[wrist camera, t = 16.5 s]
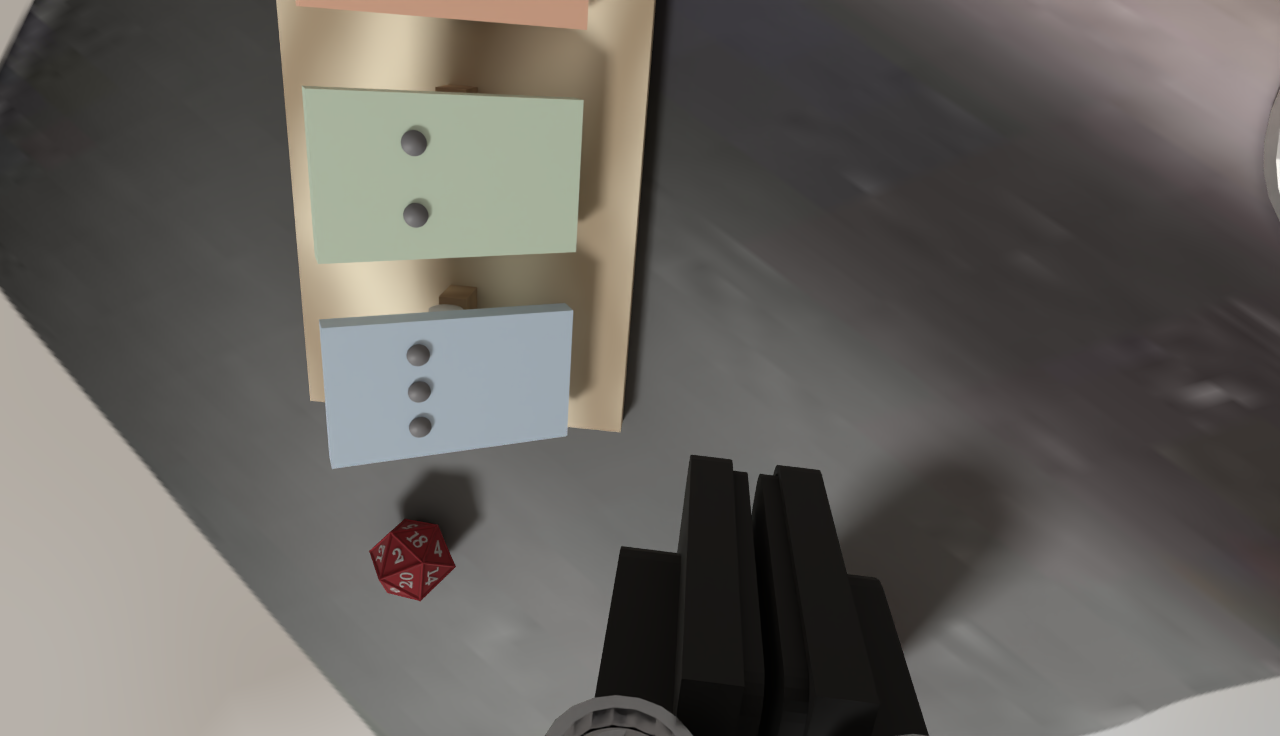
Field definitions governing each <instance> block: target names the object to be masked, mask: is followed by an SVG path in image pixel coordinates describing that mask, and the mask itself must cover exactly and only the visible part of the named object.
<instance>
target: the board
mask: <svg viewBox="0 0 1280 736" xmlns="http://www.w3.org/2000/svg"><path fill="white" fill-rule="evenodd" d="M276 1H277V13H278V25H279V36H280V48H281V60H282V72H283V83H284V95H285V107H286V119H287V131H288V142H289V154H290V166H291V178H292V190H293V201H294V213H295V225H296V237H297V248H298V260H299V272H300V284H301V296H302V307H303V319H304V331H305V343H306V355H307V366H308V378H309V390H310V401H320V402H325V392H324V379H323V366H322V353H321V340H320V327H319V319H332V318H347V317H362V316H377V315H392V314H407V313H422V312H429V308H430V307H432V306H435V305H442V304H449V305H456V306H459V307H461V308H463V310H467V309H482V308H497V307H512V306H527V305H542V304H557V303H566V304H567V305H568V306H569V307H570V308H571V309H572V310H573V326H572V346H571V366H570V386H569V405H568V425H567V427H575V428H584V429H594V430H604V431H614V432H621V427H622V422H623V410H624V397H625V385H626V372H627V359H628V347H629V334H630V322H631V309H632V297H633V284H634V271H635V259H636V246H637V234H638V221H639V208H640V196H641V183H642V171H643V158H644V145H645V133H646V120H647V108H648V95H649V83H650V70H651V57H652V45H653V32H654V20H655V7H656V0H589V2H588V22H587V30H580V29H568V28H556V27H544V26H532V25H520V24H508V23H496V22H484V21H471V20H459V19H447V18H435V17H423V16H411V15H399V14H387V13H375V12H363V11H350V10H338V9H326V8H314V7H302V6H296V0H276ZM302 86H321V87H344V88H367V89H390V90H413V91H437V92H460V93H483V94H506V95H530V96H553V97H574V98H578V99H581V100H584V103H583V123H582V143H581V163H580V183H579V203H578V223H577V243H576V252H566V253H545V254H524V255H502V256H481V257H459V258H438V259H417V260H395V261H374V262H353V263H331V264H318V263H317V260H316V258H315V252H314V239H313V226H312V213H311V200H310V187H309V174H308V161H307V148H306V135H305V122H304V109H303V96H302Z"/></svg>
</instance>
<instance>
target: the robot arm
mask: <svg viewBox="0 0 1280 736" xmlns="http://www.w3.org/2000/svg"><path fill="white" fill-rule="evenodd" d="M1263 171H1264V176H1265V181H1266V186H1267V191H1268V196H1269V199H1270V201H1271V204H1272V206H1273V208H1274V210H1275V212H1276V214H1277V216H1278V218H1279V221H1280V90H1279V92H1278V95H1277V97H1276V99H1275V102H1274V104H1273V107H1272V109H1271V112H1270V117H1269V122H1268V126H1267V131H1266V135H1265V140H1264V170H1263ZM545 736H929V734H928V731H927V728H926V725H925V722H924V718H923V715H922V712H921V709H920V706H919V702H918V699H917V696H916V693H915V690H914V686H913V683H912V680H911V677H910V674H909V670H908V667H907V664H906V661H905V658H904V654H903V651H902V648H901V645H900V641H899V638H898V635H897V632H896V629H895V625H894V622H893V619H892V616H891V613H890V609H889V606H888V603H887V600H886V597H885V593H884V590H883V588H882V585H881V583H880V581H879V580H878V579H876V578H873V577H865V576H857V575H849V574H847V572H846V568H845V565H844V561H843V557H842V553H841V549H840V545H839V541H838V537H837V533H836V529H835V525H834V521H833V517H832V513H831V509H830V505H829V501H828V498H827V494H826V490H825V486H824V482H823V478H822V474H821V472H820V470H815V469H806V468H798V467H790V466H781V465H777V466H776V468H775V471H774V474H773V475H764V474H760V475H759V477H758V481H757V486H756V492H755V497H754V503H753V509H752V515H751V506H750V495H749V483H748V474H747V472H739V471H733V463H732V460H731V459H723V458H714V457H706V456H698V455H691V456H690V461H689V468H688V475H687V482H686V490H685V498H684V505H683V513H682V520H681V528H680V536H679V543H678V551H677V553H672V552H664V551H656V550H648V549H640V548H632V547H624V546H621V549H620V554H619V560H618V566H617V572H616V577H615V583H614V589H613V595H612V601H611V606H610V612H609V618H608V624H607V630H606V635H605V641H604V647H603V653H602V659H601V664H600V670H599V676H598V682H597V688H596V693H595V698H592V699H589V700H587V701H584V702H582V703H579V704H577V705H574V706H572V707H571V708H569V709H568V710H567V711H566V712H564V713H563V714H562V715H560V716H559V717H558V718H557V719H555V721H554V722H553V724H552V725H551V727H550V728H549V730H548V731H547V733H546V734H545Z"/></svg>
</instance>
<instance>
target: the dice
mask: <svg viewBox="0 0 1280 736" xmlns="http://www.w3.org/2000/svg"><path fill="white" fill-rule="evenodd" d="M369 552H370V555H371V558H372V561H373V564H374V567H375V570H376V573H377V576H378V579H379V581H380V582H381V584H382V585H383V587H384V588H385V590H386V591H387V593H390V594H394V595H398V596H402V597H406V598H410V599H414V600H418V601H421V600H422V599H423V598H424V597H425V596H426V595H427V594H428V593H429V592H430V591H431V590H432V589H433V588H434V587H435V586H437V585H438V584H439V583H440V582H441V581H442V580H443V579H444V578H445V577H446V576H447V575H448V574H449V573H450V572H451V571H452V570H453V569H454V568H455V567H456V566H455V564H454V561H453V559H452V557H451V555H450V552H449V550H448V548H447V545H446V543H445V541H444V538H443V536H442V534H441V531H440V529H439V526H438V525H437V524H431V523H425V522H420V521H414V520H409V519H404V520H403V521H402V522H401V523H400V524H399V525H397V526H396V527H395V528H394V529H393V530H392V531H391V532H389V533H388V534H387V535H386V536H385V537H384V538H383V539H382V540H381V541H380V542H379V543H378V544H376V545H375V546H374V547H373V548H372V549H371V550H370V551H369Z"/></svg>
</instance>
